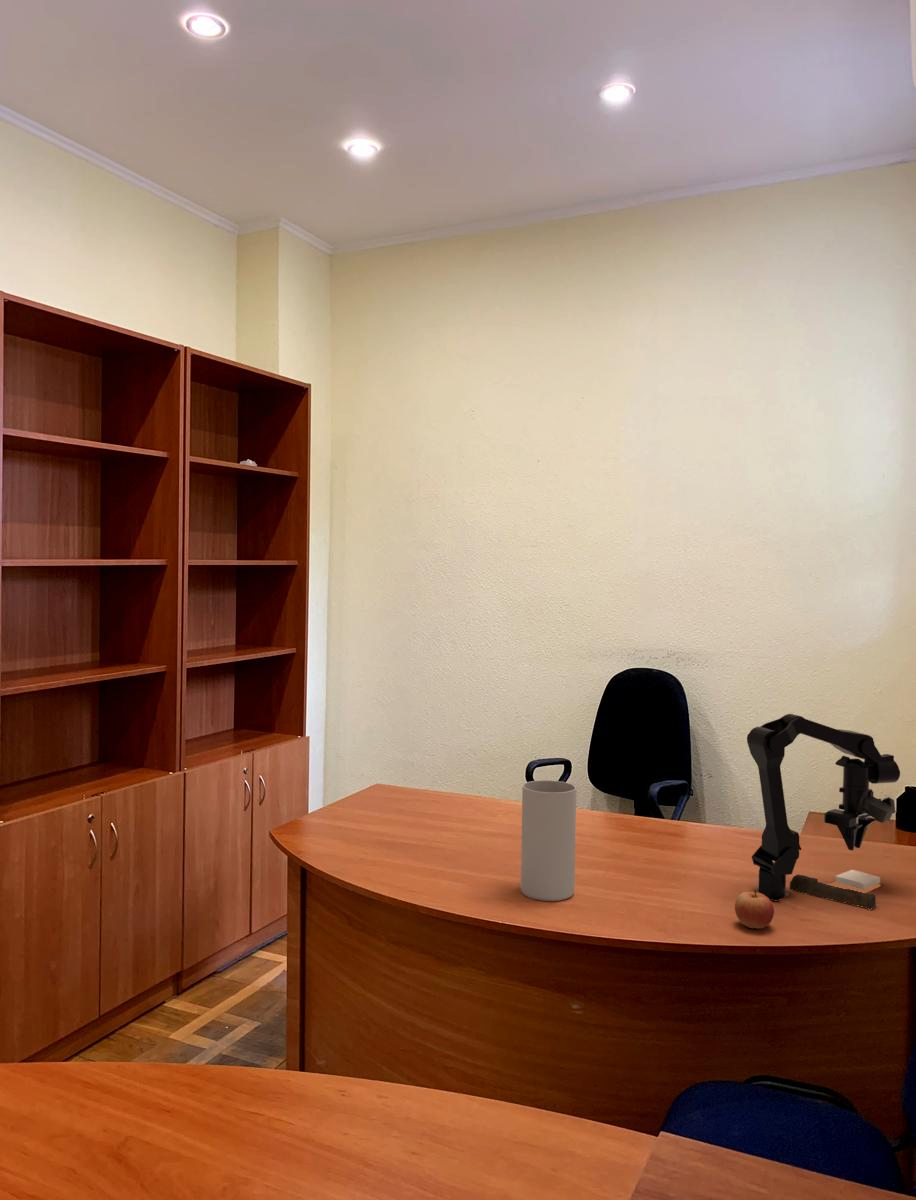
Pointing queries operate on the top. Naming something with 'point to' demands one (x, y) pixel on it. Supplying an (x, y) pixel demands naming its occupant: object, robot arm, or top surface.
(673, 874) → the top surface
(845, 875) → the tile
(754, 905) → the apple
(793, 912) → the top surface
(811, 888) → the hand tool
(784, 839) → the robot arm
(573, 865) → the cylinder vase
